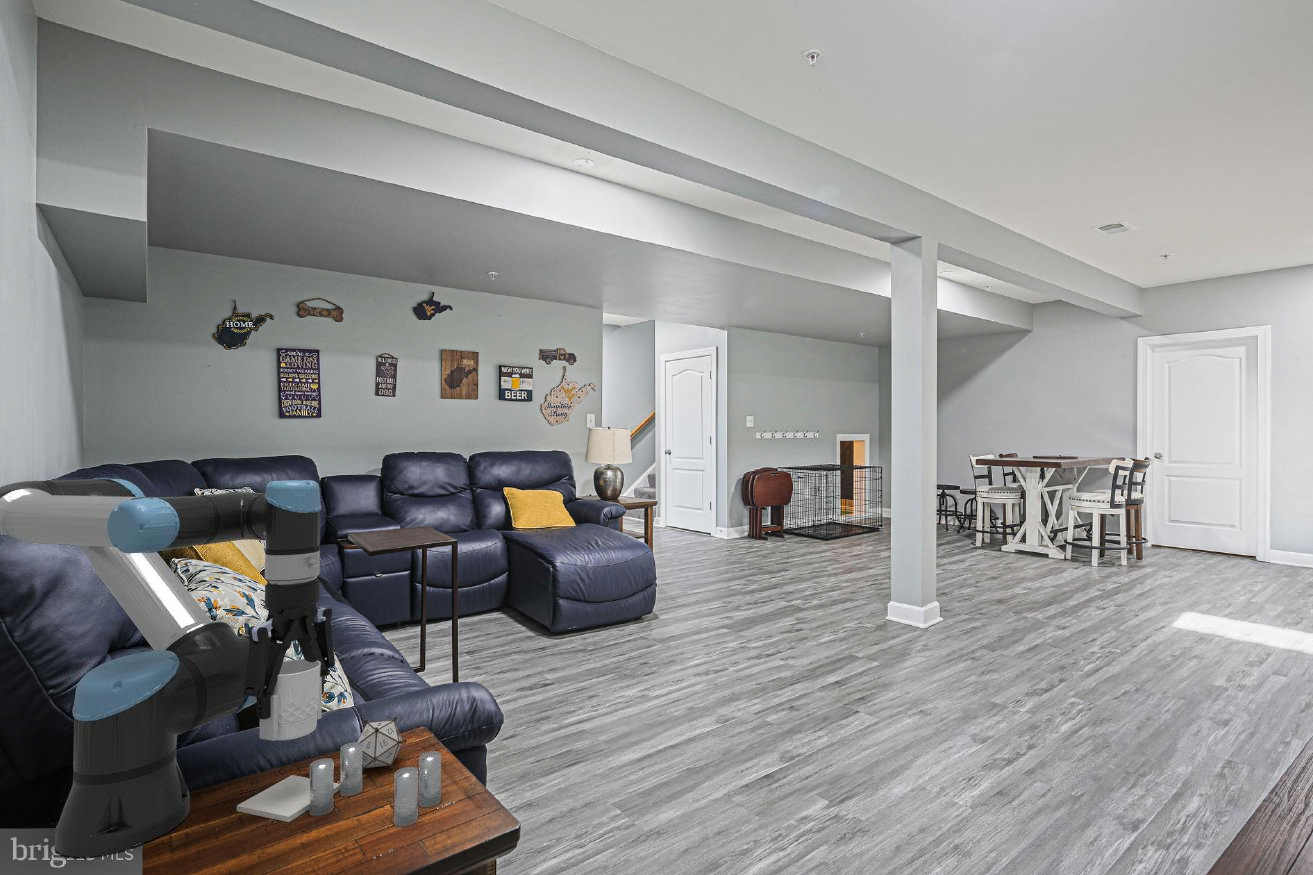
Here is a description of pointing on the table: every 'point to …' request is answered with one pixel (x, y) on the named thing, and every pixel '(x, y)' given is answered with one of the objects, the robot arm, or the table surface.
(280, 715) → the white cup
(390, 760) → the game die
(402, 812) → the spacer posts
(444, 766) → the table surface
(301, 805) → the coaster
